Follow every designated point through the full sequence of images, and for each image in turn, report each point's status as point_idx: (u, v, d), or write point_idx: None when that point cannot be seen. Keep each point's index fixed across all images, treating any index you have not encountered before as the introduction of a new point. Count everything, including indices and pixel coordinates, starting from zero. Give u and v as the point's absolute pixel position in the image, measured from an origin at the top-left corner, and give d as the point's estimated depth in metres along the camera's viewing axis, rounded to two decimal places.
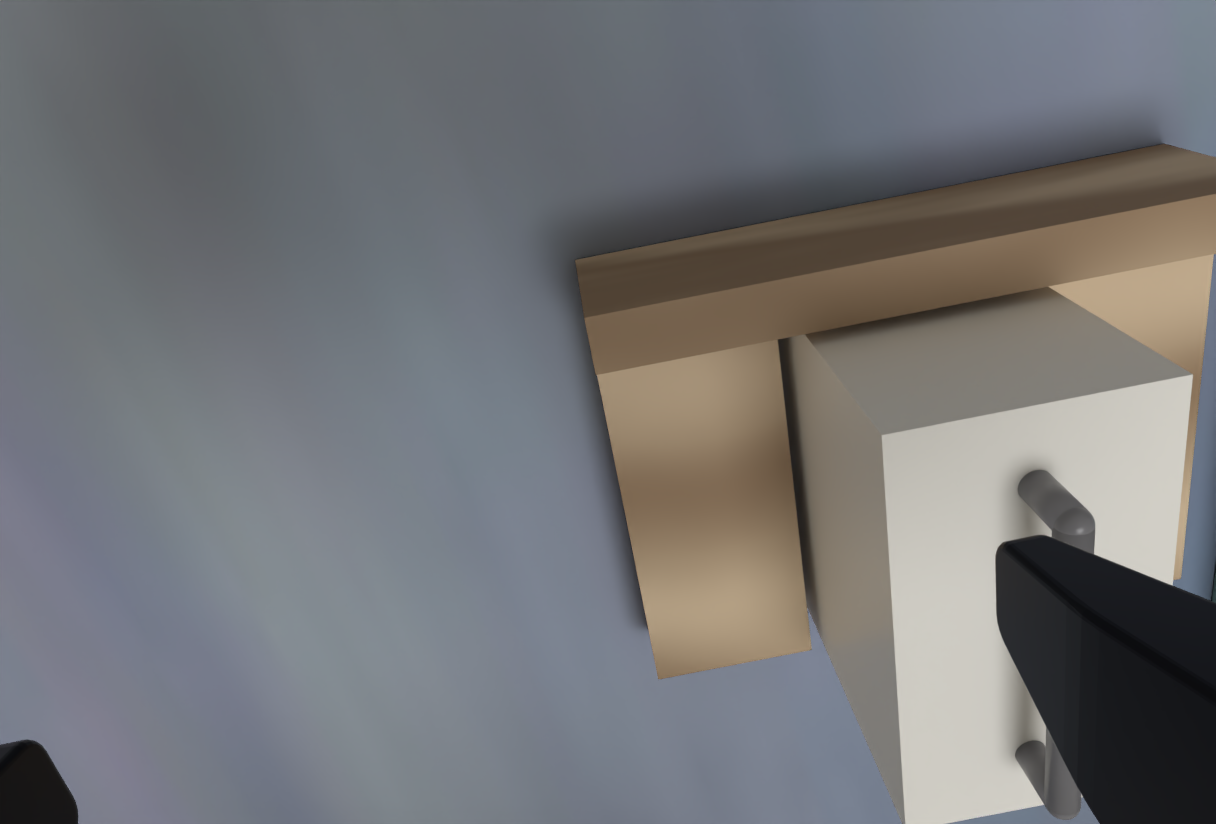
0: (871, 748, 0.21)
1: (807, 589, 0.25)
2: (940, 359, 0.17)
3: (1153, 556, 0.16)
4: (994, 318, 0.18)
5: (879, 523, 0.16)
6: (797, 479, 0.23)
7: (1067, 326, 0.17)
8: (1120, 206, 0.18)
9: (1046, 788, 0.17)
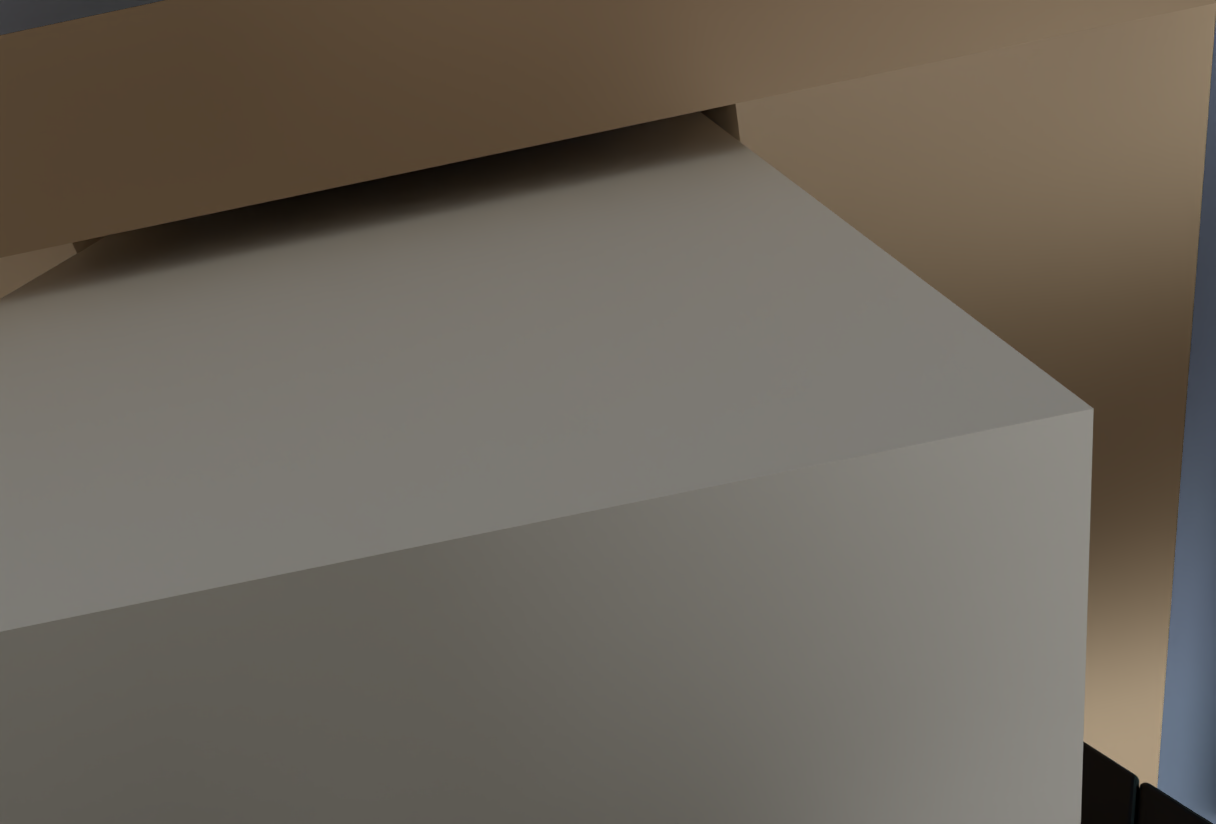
0: None
1: None
2: (174, 343, 0.04)
3: None
4: (510, 214, 0.06)
5: None
6: None
7: (681, 221, 0.05)
8: None
9: None
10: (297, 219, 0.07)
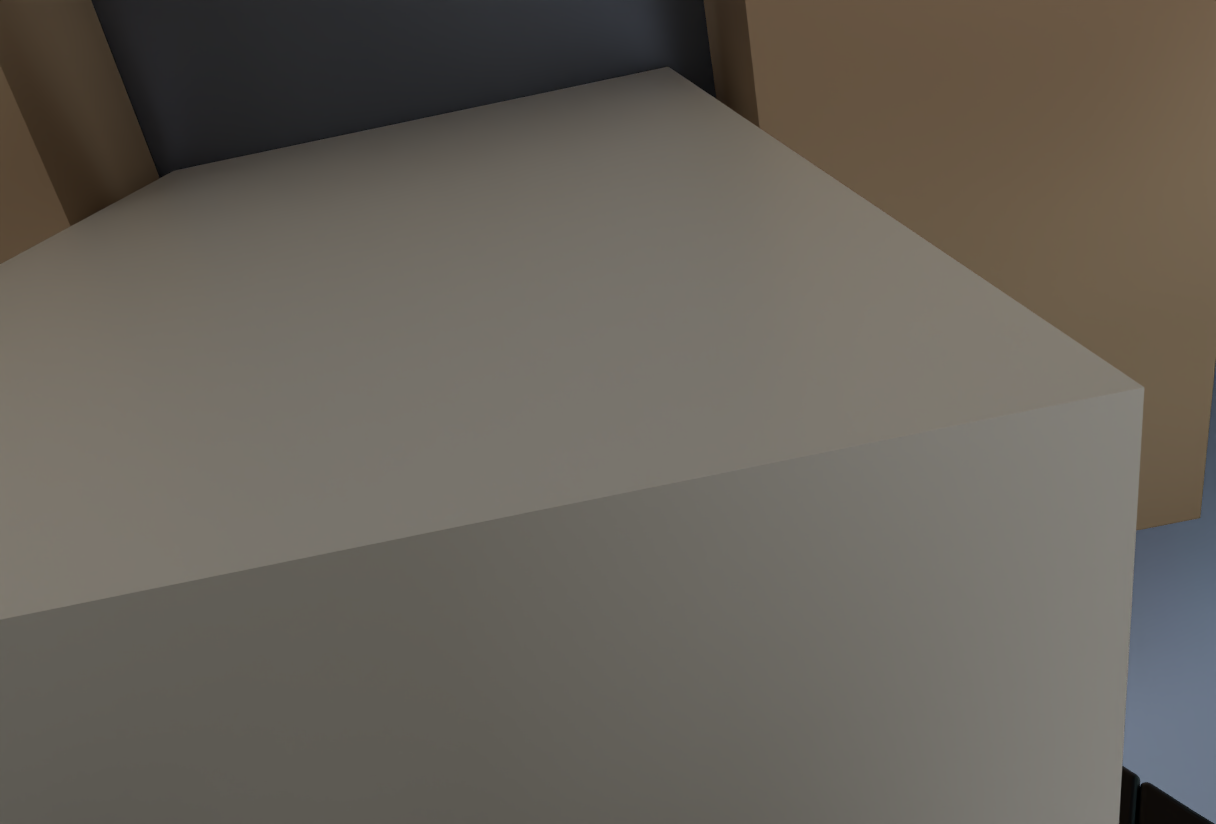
0: None
1: None
2: (138, 325, 0.04)
3: None
4: (499, 189, 0.05)
5: None
6: None
7: (680, 195, 0.04)
8: None
9: None
10: (280, 199, 0.06)
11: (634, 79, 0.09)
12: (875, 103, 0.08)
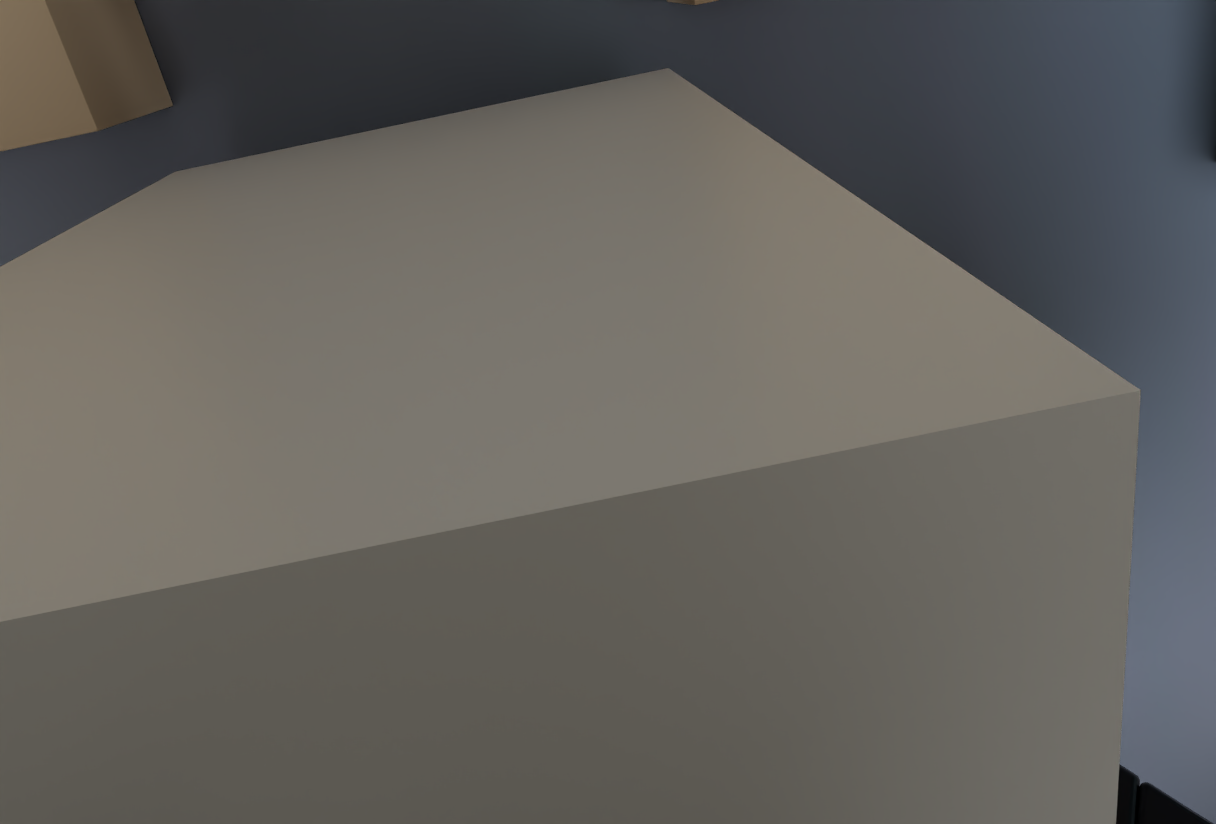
0: None
1: None
2: (140, 326, 0.04)
3: None
4: (498, 192, 0.05)
5: None
6: None
7: (680, 197, 0.04)
8: None
9: None
10: (281, 201, 0.07)
11: (634, 80, 0.09)
12: None
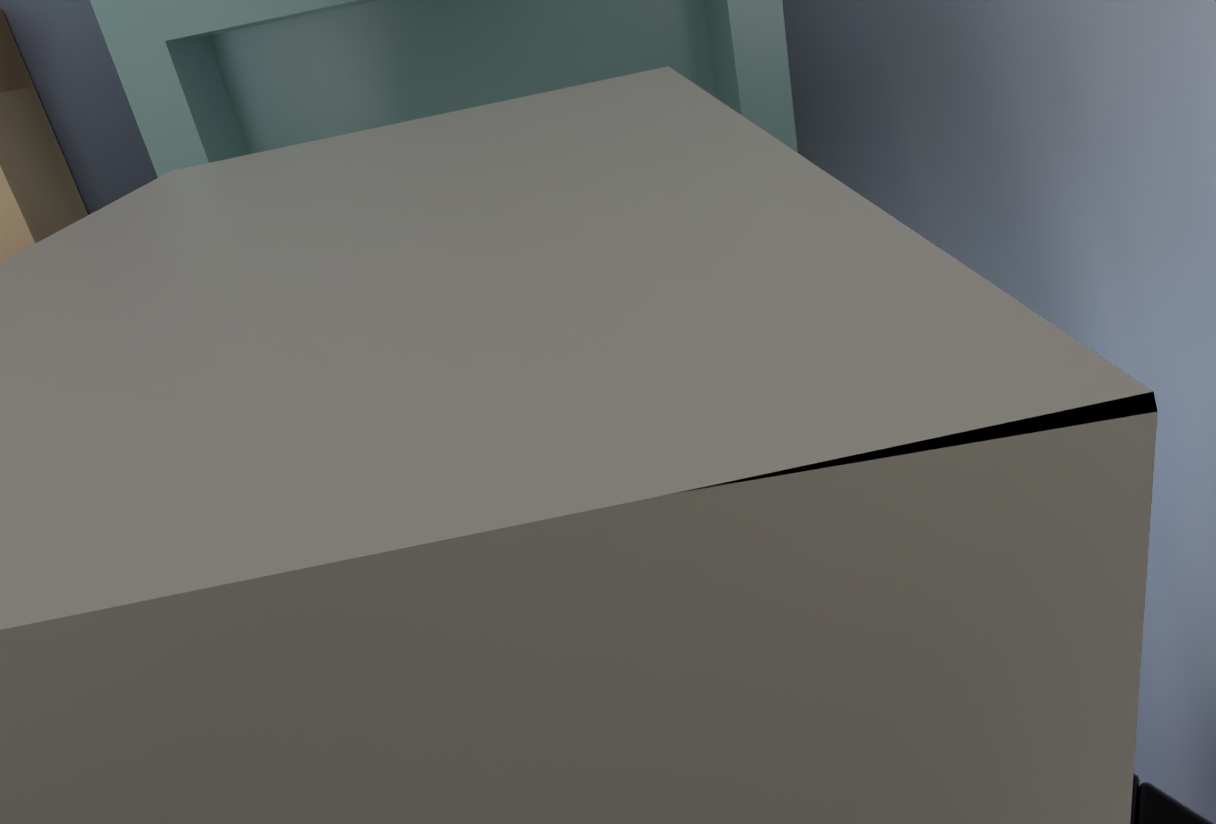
0: None
1: None
2: (131, 326, 0.04)
3: None
4: (496, 193, 0.05)
5: None
6: None
7: (680, 196, 0.04)
8: None
9: None
10: (278, 200, 0.06)
11: (634, 79, 0.09)
12: None
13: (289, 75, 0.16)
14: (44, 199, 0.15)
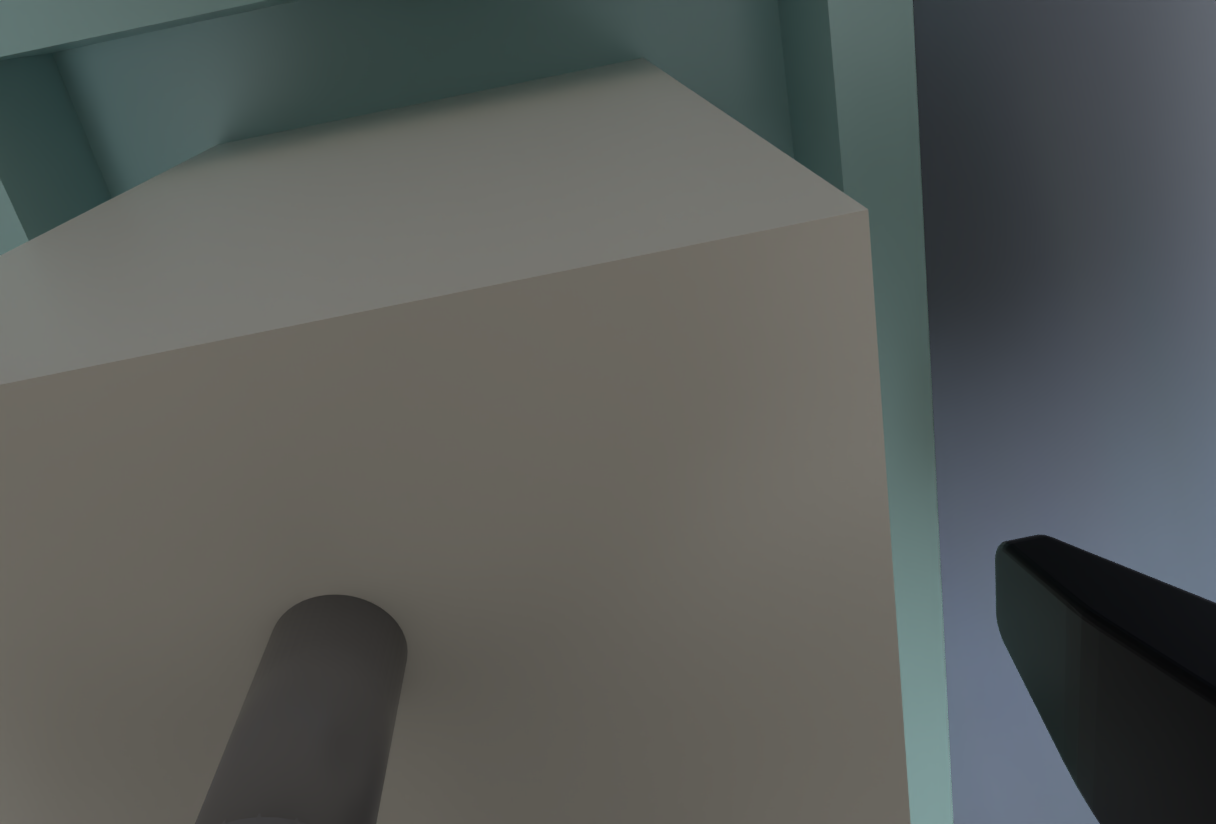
0: None
1: None
2: (232, 230, 0.06)
3: None
4: (497, 144, 0.07)
5: None
6: None
7: (632, 139, 0.06)
8: None
9: None
10: (320, 157, 0.08)
11: (613, 67, 0.10)
12: None
13: (174, 110, 0.11)
14: None
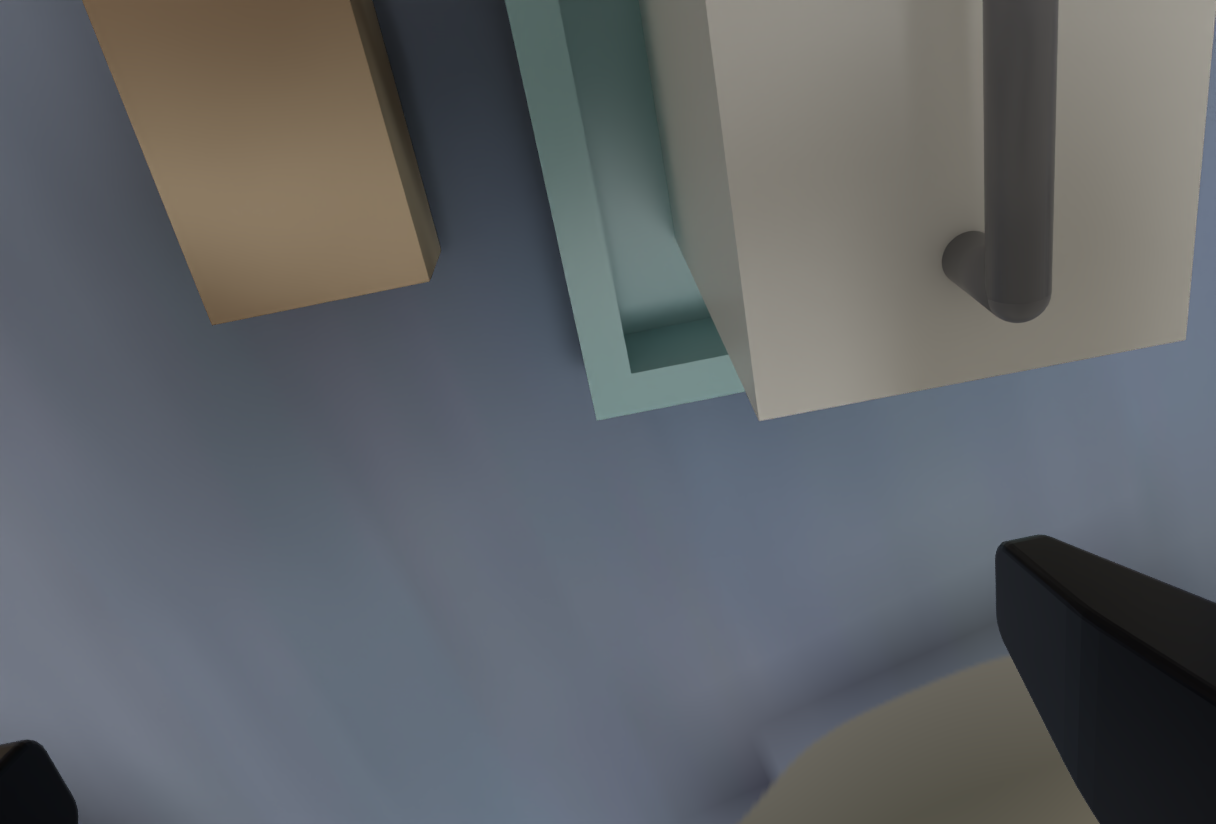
0: (727, 344, 0.13)
1: (675, 212, 0.17)
2: None
3: None
4: None
5: None
6: (645, 6, 0.15)
7: None
8: None
9: (987, 257, 0.09)
10: None
11: None
12: (160, 38, 0.15)
13: None
14: None
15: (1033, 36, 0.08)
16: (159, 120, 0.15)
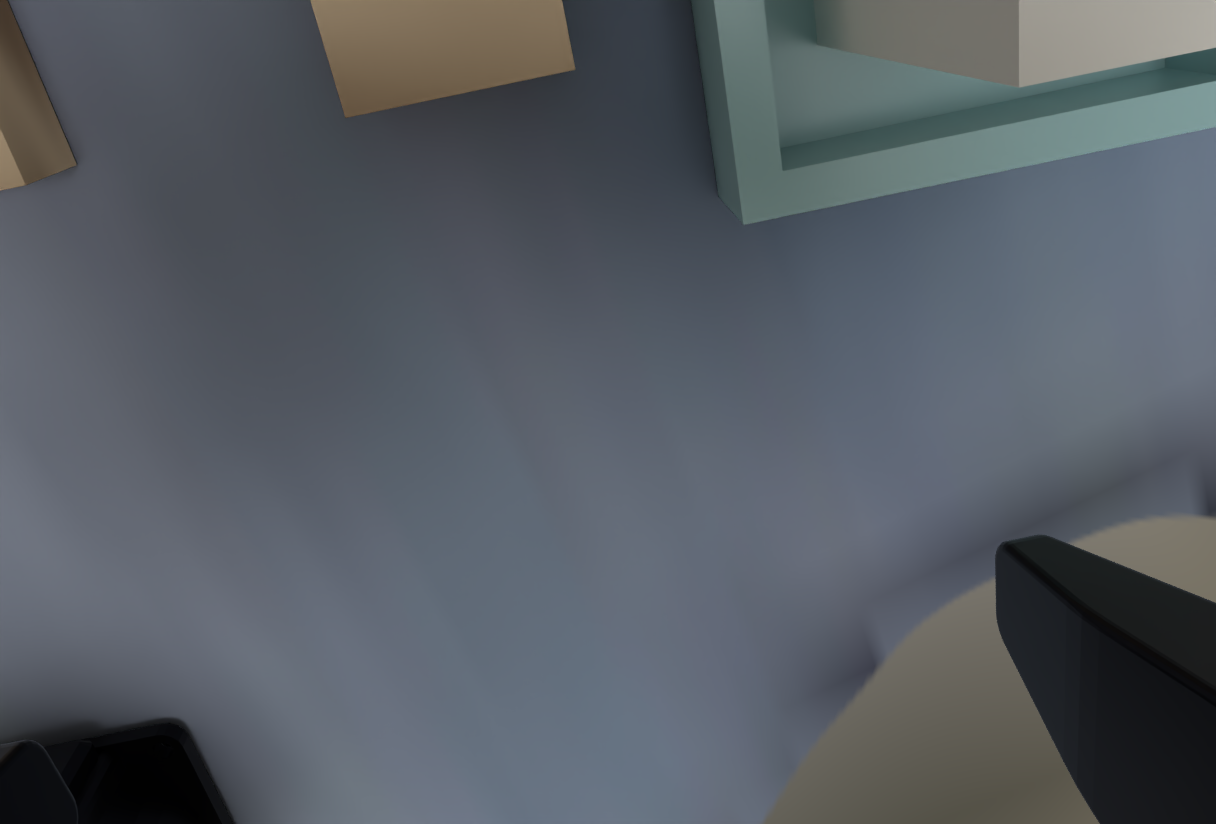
0: (943, 59, 0.12)
1: (828, 2, 0.16)
2: None
3: None
4: None
5: None
6: None
7: None
8: None
9: None
10: None
11: None
12: None
13: None
14: None
15: None
16: None
